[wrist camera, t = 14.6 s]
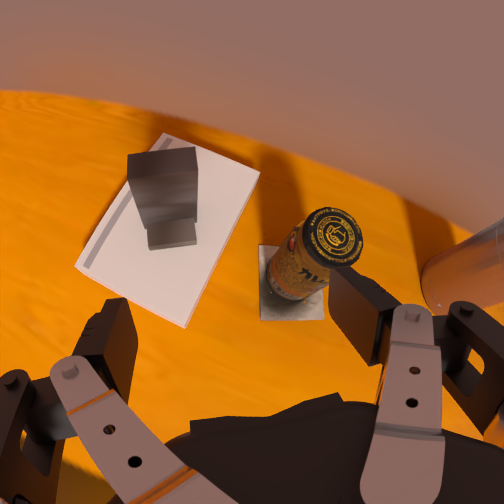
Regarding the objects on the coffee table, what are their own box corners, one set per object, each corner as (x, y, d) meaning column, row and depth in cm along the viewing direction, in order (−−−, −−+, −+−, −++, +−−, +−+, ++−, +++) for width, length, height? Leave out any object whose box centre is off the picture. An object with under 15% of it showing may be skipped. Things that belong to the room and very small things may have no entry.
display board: (164, 147, 37) (163, 132, 34) (255, 185, 37) (260, 172, 35) (83, 274, 30) (74, 266, 27) (185, 328, 30) (184, 326, 28)
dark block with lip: (194, 200, 32) (195, 144, 23) (200, 244, 31) (202, 197, 22) (143, 207, 31) (127, 152, 22) (146, 251, 29) (127, 207, 21)
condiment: (318, 248, 36) (366, 201, 25) (323, 319, 33) (381, 298, 22) (258, 245, 35) (286, 192, 24) (259, 320, 32) (293, 300, 21)
